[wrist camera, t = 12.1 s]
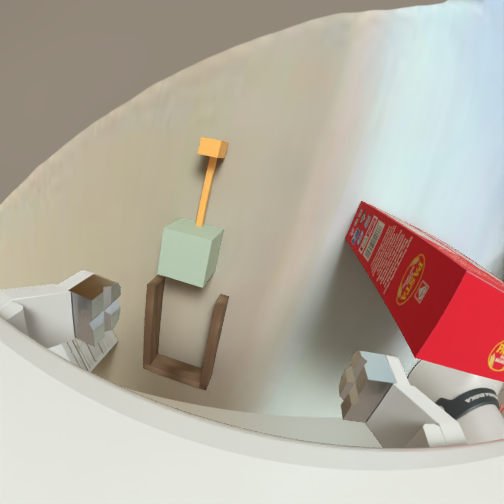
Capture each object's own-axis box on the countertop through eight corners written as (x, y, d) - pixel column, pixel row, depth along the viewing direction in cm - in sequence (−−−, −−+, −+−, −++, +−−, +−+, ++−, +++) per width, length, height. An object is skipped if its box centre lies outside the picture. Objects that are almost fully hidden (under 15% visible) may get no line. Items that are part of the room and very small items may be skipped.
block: (243, 146, 35) (234, 143, 29) (215, 270, 41) (202, 287, 35) (198, 137, 35) (181, 133, 30) (175, 258, 41) (157, 273, 35)
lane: (228, 296, 41) (223, 307, 38) (211, 376, 46) (205, 390, 43) (157, 275, 42) (147, 284, 39) (151, 356, 47) (143, 368, 44)
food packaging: (345, 238, 37) (414, 357, 13) (361, 200, 35) (466, 270, 11) (431, 277, 36) (531, 388, 13) (447, 244, 35) (566, 333, 11)
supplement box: (91, 342, 49) (54, 380, 37) (76, 308, 47) (33, 342, 35) (119, 342, 47) (82, 384, 35) (103, 305, 45) (59, 343, 33)
